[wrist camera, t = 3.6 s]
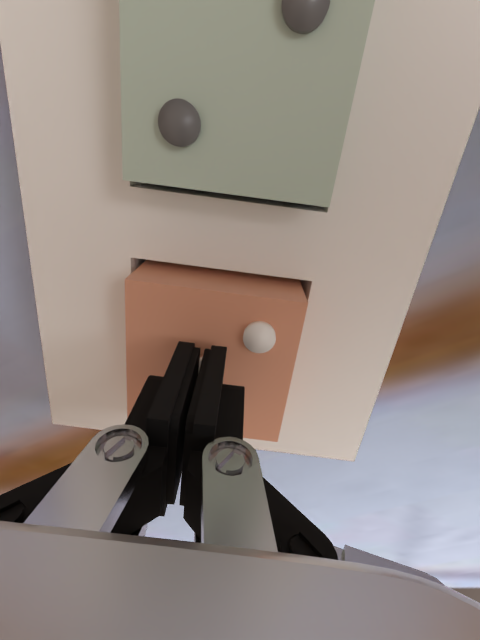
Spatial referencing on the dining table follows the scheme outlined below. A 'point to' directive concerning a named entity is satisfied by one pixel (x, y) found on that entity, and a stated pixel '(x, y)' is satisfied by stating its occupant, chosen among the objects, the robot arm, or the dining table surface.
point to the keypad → (236, 210)
